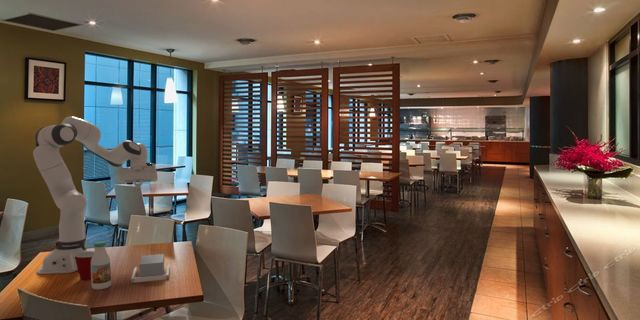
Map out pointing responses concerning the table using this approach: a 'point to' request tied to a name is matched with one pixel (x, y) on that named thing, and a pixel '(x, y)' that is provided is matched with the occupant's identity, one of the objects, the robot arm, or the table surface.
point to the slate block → (152, 265)
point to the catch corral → (149, 278)
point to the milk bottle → (100, 267)
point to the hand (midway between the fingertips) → (137, 187)
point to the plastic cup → (84, 264)
